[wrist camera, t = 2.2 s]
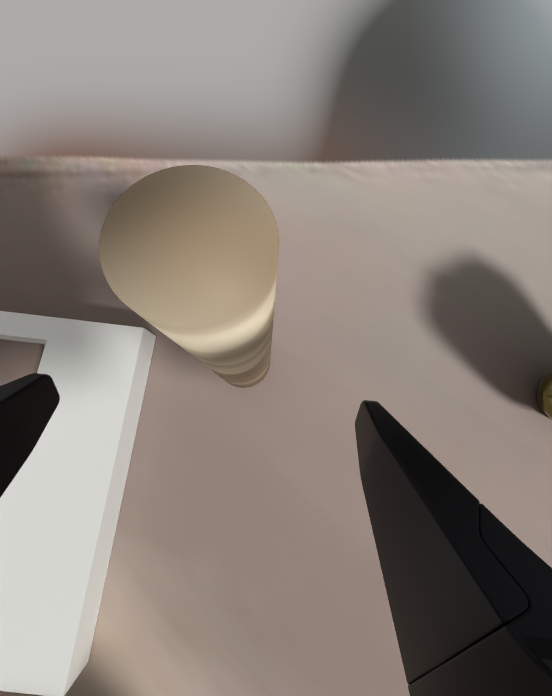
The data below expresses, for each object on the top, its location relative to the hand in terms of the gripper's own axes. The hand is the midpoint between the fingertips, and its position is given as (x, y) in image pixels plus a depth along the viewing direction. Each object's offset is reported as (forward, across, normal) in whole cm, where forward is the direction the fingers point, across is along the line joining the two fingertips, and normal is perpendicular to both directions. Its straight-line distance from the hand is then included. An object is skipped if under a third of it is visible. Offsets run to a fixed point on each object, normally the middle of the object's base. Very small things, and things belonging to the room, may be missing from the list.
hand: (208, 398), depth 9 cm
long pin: (+9, 0, +5) cm, 11 cm away
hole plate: (+4, +12, +11) cm, 17 cm away
